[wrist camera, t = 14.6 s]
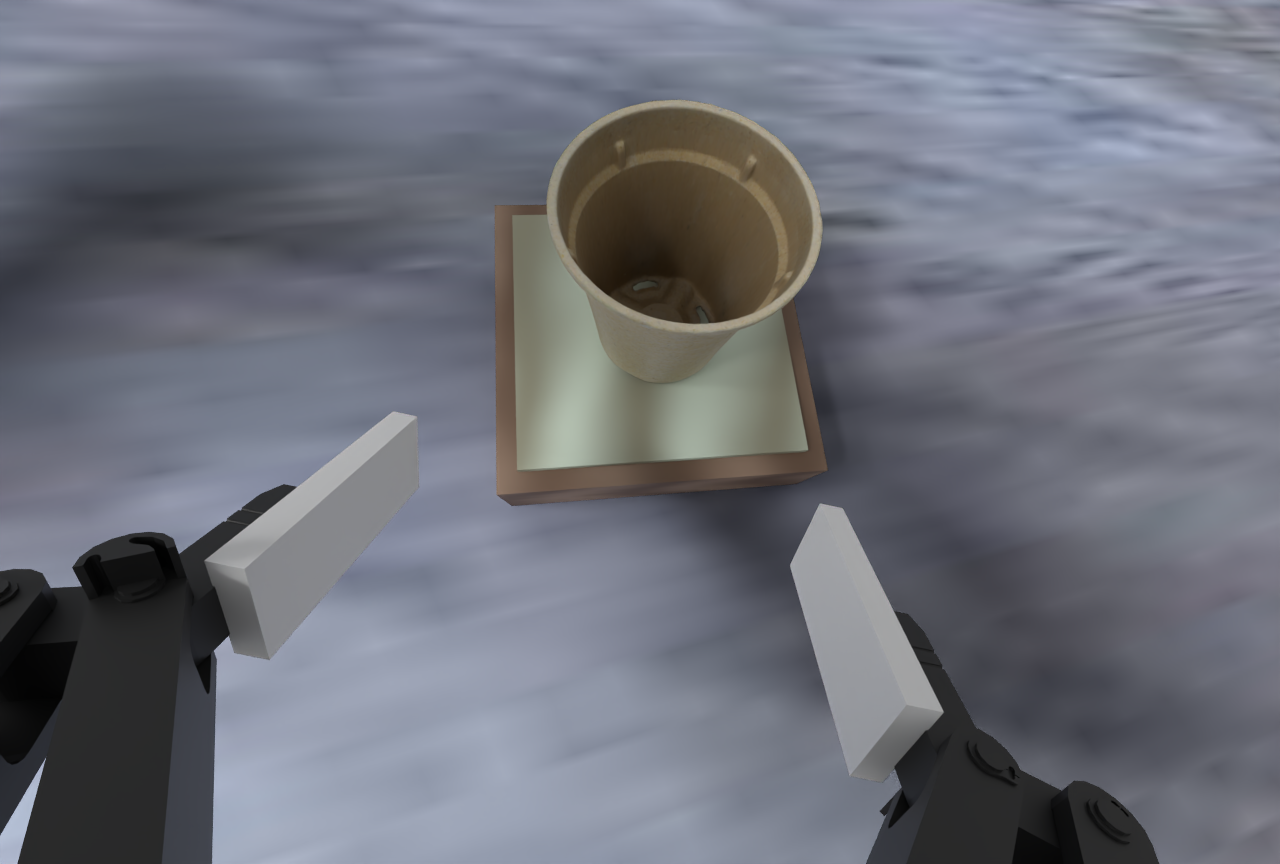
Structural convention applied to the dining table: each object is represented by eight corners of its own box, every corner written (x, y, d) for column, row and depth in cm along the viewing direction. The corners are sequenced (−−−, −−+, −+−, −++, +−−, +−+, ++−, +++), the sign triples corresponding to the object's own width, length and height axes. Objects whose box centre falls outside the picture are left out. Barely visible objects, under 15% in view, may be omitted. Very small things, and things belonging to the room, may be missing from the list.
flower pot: (646, 455, 22) (675, 389, 14) (526, 314, 24) (488, 178, 15) (783, 345, 25) (877, 231, 16) (665, 222, 26) (697, 61, 18)
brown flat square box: (512, 505, 25) (494, 493, 21) (508, 252, 30) (493, 199, 25) (795, 484, 27) (831, 468, 23) (752, 247, 31) (776, 197, 27)
